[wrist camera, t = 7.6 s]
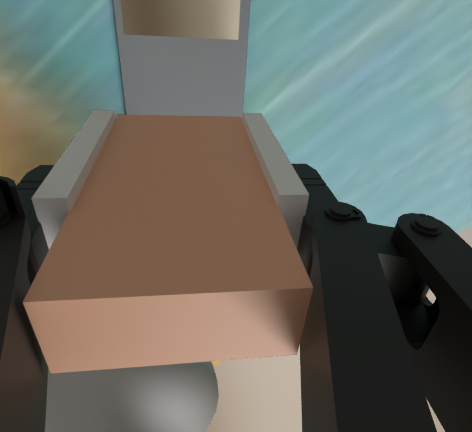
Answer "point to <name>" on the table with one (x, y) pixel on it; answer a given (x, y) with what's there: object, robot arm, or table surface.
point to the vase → (133, 399)
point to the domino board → (183, 72)
